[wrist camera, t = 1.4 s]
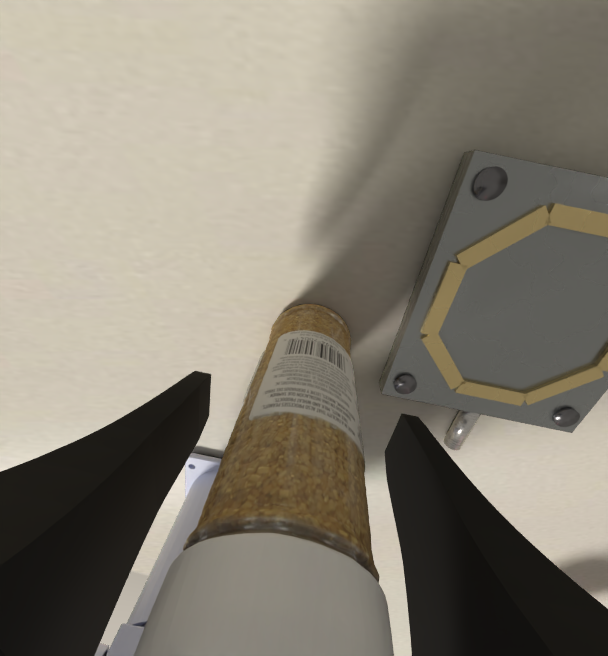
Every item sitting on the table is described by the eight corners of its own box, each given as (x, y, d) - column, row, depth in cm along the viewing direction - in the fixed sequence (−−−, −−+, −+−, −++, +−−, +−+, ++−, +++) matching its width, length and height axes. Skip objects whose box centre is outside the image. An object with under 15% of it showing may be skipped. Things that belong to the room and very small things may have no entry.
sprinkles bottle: (257, 346, 17) (75, 731, 5) (299, 284, 15) (175, 659, 3) (321, 384, 18) (297, 797, 6) (369, 330, 16) (481, 772, 4)
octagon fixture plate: (532, 454, 19) (545, 471, 18) (365, 420, 19) (367, 434, 18) (724, 206, 12) (762, 208, 11) (464, 152, 12) (477, 149, 11)
